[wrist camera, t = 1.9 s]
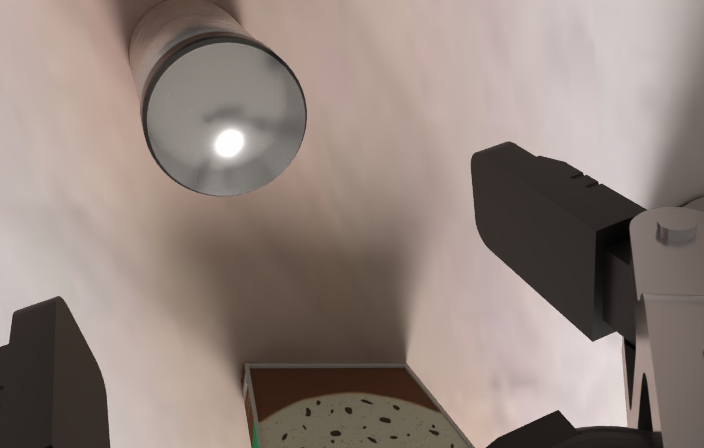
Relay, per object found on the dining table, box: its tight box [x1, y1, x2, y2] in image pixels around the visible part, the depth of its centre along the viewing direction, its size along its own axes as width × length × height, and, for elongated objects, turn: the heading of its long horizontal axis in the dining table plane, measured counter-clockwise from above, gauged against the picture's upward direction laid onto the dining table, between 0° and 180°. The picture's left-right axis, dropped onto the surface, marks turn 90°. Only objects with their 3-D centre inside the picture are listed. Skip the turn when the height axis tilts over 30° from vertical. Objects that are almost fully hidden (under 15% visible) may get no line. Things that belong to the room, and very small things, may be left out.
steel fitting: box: [129, 0, 307, 196], centre depth 21 cm, size 5×5×8 cm
